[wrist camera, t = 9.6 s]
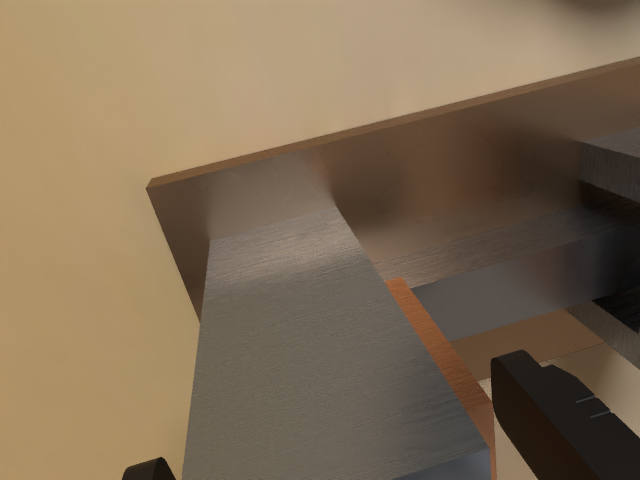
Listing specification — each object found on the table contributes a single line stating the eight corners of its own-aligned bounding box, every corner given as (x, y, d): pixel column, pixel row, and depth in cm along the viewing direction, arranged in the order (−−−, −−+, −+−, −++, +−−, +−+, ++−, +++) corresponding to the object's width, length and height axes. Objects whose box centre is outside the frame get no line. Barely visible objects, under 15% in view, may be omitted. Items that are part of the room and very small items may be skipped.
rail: (666, 304, 19) (1042, 530, 10) (250, 429, 18) (267, 815, 9) (714, 38, 15) (1489, 25, 6) (151, 178, 13) (-26, 467, 4)
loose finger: (386, 369, 17) (531, 678, 8) (269, 404, 16) (305, 760, 8) (354, 201, 14) (534, 434, 5) (210, 240, 13) (173, 549, 5)
